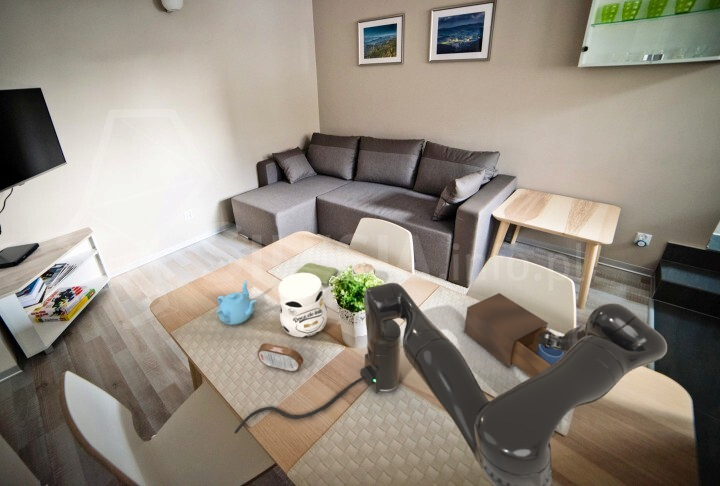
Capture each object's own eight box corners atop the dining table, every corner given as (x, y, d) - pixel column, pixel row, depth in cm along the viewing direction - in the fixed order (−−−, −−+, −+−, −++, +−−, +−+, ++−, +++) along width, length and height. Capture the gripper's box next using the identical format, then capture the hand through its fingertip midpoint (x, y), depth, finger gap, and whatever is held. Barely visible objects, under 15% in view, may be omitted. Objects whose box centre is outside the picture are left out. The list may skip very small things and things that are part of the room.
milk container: (311, 349, 110) (306, 307, 103) (272, 331, 119) (264, 292, 111) (336, 317, 123) (333, 277, 116) (299, 303, 132) (294, 266, 124)
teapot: (216, 310, 133) (211, 289, 128) (253, 299, 137) (248, 278, 133) (220, 334, 120) (214, 312, 116) (260, 320, 125) (256, 299, 120)
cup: (549, 379, 91) (555, 360, 88) (529, 364, 96) (534, 345, 93) (562, 371, 93) (569, 352, 90) (542, 356, 98) (547, 338, 95)
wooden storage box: (540, 349, 103) (548, 323, 98) (507, 368, 98) (514, 341, 93) (494, 317, 117) (499, 292, 112) (463, 332, 112) (467, 307, 107)
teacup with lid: (369, 296, 133) (369, 272, 128) (349, 289, 138) (348, 266, 133) (381, 280, 142) (381, 257, 137) (362, 275, 147) (361, 252, 142)
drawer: (603, 392, 88) (613, 368, 84) (571, 414, 83) (580, 390, 79) (532, 342, 104) (538, 321, 100) (502, 359, 99) (507, 337, 96)
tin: (304, 368, 103) (302, 348, 100) (301, 376, 101) (298, 356, 97) (262, 358, 108) (258, 339, 105) (258, 365, 106) (254, 346, 102)
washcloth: (306, 265, 158) (306, 259, 156) (339, 273, 150) (339, 267, 148) (291, 280, 147) (291, 274, 146) (326, 289, 139) (325, 283, 138)
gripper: (548, 348, 73) (531, 354, 87) (630, 374, 67) (598, 376, 81) (553, 316, 76) (536, 326, 89) (632, 338, 69) (601, 346, 83)
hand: (565, 350), depth 85 cm, fingers open, 8 cm apart
